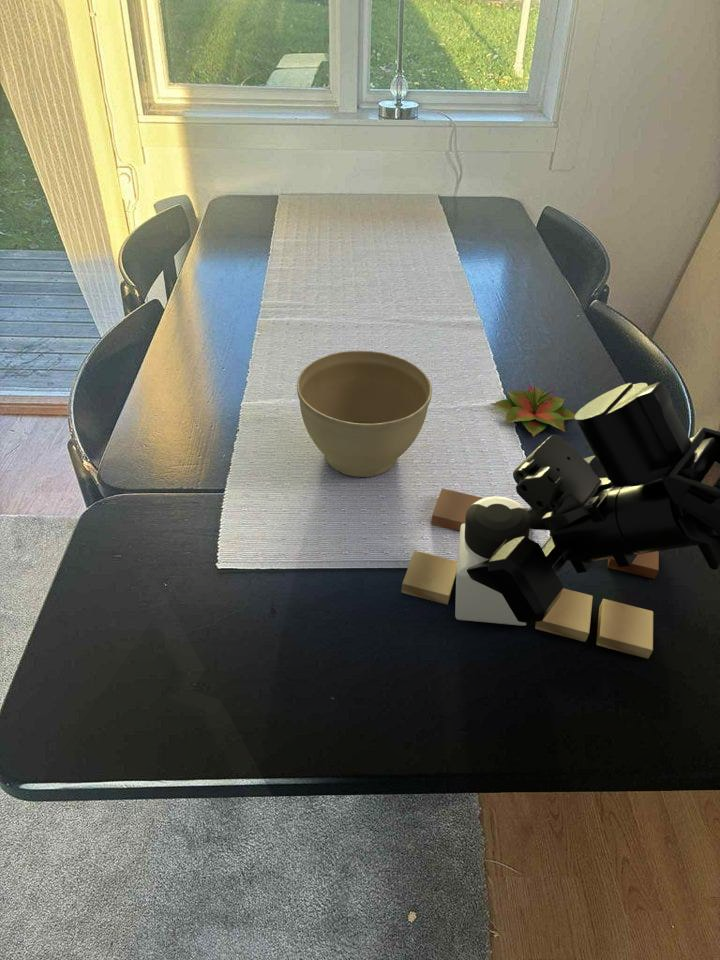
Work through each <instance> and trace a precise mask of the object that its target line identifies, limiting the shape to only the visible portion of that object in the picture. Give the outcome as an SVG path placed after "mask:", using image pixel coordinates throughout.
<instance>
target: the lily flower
mask: <svg viewBox="0 0 720 960" xmlns="http://www.w3.org/2000/svg"><path fill="white" fill-rule="evenodd" d="M539 381H540V382H541V379H540V380H539ZM531 384H532V387H531V386H530V385H528V386H527V388H526V389H527V390H526V391H524V390H514V391H511V390H506V392H507V394H508V396H509V398H510V399H508V398H506V399H501V400H497V401H495V402H491V403H489V404H490V405H491V406H494V407H497V408H498V409H500V410H502V411H504V412H506V416H505V420H504V422H503V424H508V423H514V422H516V423H517V422H521V423H522V425H523V426H524V427H525V429H526V430H527V431H528V432H529V433H531V435H532V437H533V438H534V437H535V436H536V435H538V434H539V433H540V432H542V431H543V430H545V429H546V428H547V427H548V425H550V426H552V427H554V428H557V429H558V430H560V431H562V432H565V433H566V429H565V425H564V424H565V421H567V420H573V419H575V415H576V413H574V412H573V411H572V410H570V409H569V408H566V407H562V406H563V404H564V401H565V398H561V397H558V396H555V395H553V394H551V393H554V392H557V391H558V390H557V389H553V390H551V391H548V392H546V391H547V389H548V388H549V387H551V386H552V385H553V383H550V384H549V385H548V386H547V387H546V389H544V391H543V390H541V389H540V388H538V387H537V386H535V383H534V382H533V381H532V382H531Z"/></svg>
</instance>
